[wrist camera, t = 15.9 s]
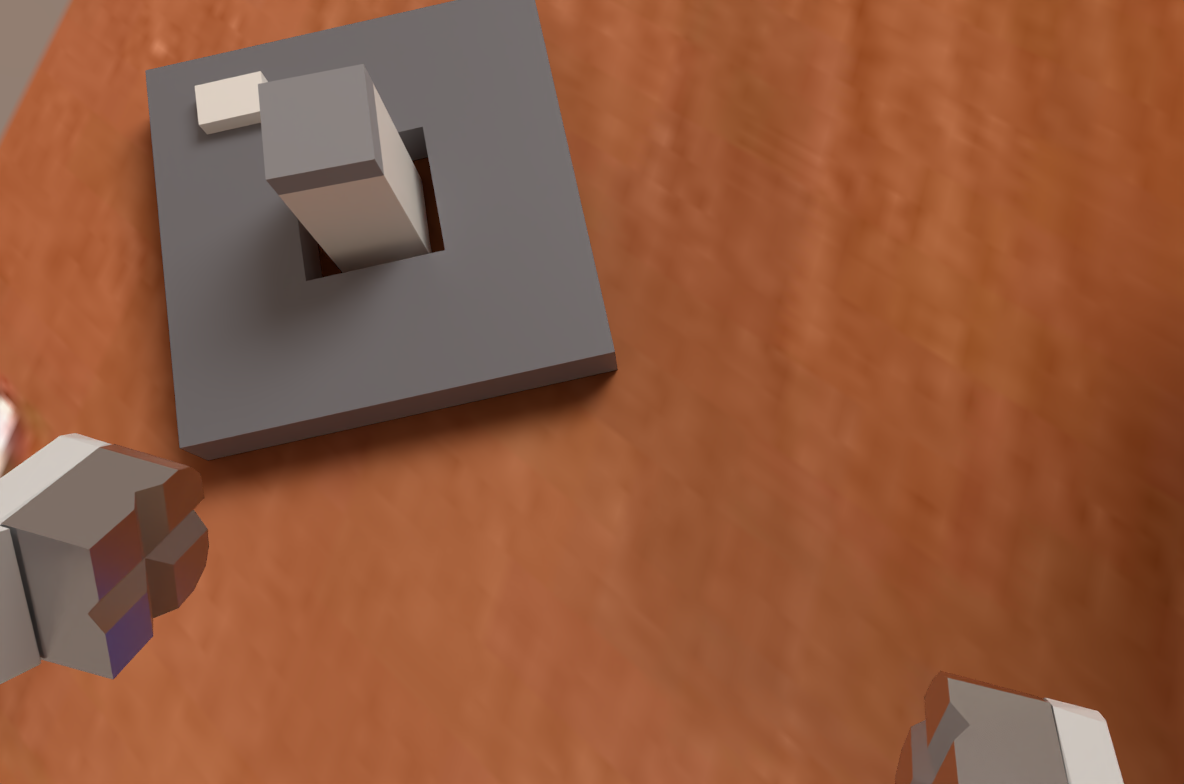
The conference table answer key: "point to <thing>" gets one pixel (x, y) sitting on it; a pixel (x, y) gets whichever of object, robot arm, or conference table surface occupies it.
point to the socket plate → (387, 291)
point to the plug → (343, 167)
